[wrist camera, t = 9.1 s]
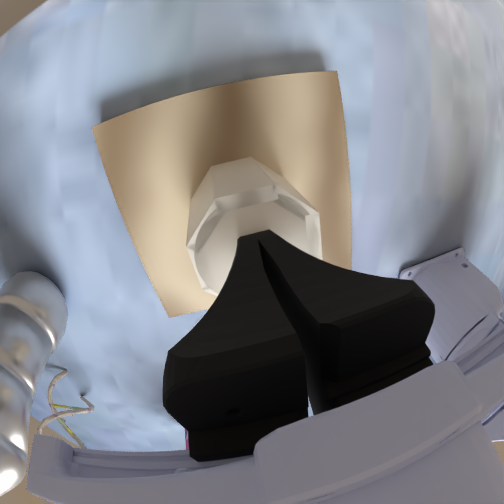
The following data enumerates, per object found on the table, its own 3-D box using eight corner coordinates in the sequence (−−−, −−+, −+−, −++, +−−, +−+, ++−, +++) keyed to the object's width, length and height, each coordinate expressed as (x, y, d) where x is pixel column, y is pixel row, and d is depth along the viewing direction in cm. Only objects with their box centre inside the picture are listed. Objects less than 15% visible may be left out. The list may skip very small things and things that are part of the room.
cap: (278, 150, 15) (315, 175, 10) (291, 234, 17) (324, 286, 13) (182, 173, 14) (172, 209, 10) (208, 255, 17) (212, 316, 13)
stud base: (326, 72, 14) (375, 65, 9) (343, 259, 21) (377, 303, 16) (100, 125, 13) (58, 137, 9) (170, 304, 21) (166, 360, 16)
